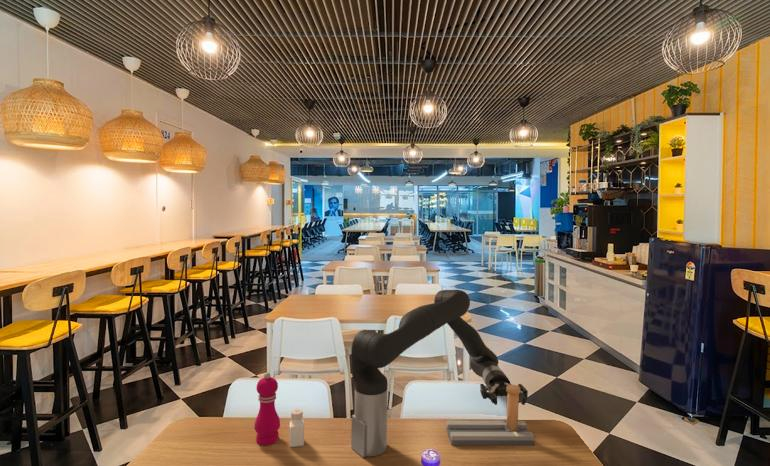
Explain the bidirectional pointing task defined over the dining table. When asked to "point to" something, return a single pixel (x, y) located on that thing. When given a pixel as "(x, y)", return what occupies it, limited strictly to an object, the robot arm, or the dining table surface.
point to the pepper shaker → (296, 428)
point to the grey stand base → (487, 433)
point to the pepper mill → (267, 411)
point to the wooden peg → (512, 408)
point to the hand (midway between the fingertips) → (510, 401)
